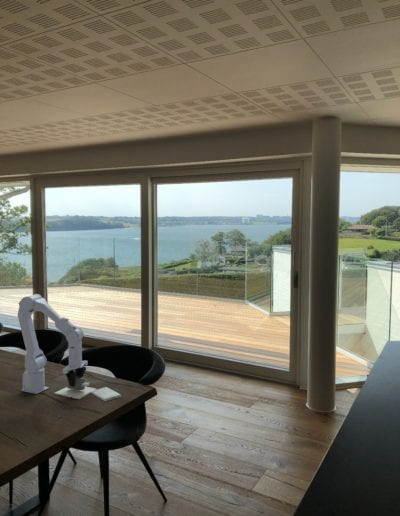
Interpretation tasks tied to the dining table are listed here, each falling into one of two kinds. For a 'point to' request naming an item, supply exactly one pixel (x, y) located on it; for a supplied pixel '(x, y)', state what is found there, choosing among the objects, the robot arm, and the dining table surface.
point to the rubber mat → (75, 392)
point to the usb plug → (78, 383)
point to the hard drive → (105, 394)
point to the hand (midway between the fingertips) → (75, 384)
